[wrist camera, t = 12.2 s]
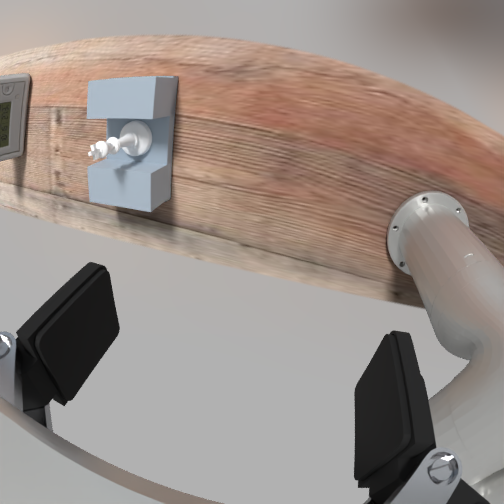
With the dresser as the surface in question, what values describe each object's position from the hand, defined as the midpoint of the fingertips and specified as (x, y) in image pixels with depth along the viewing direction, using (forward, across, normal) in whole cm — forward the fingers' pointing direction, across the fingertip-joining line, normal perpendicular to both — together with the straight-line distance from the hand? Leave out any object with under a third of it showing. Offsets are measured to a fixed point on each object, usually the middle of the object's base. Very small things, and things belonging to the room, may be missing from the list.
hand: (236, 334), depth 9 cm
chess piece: (+29, +21, 0) cm, 36 cm away
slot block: (+30, +21, 0) cm, 37 cm away
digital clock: (+30, +50, -5) cm, 58 cm away
